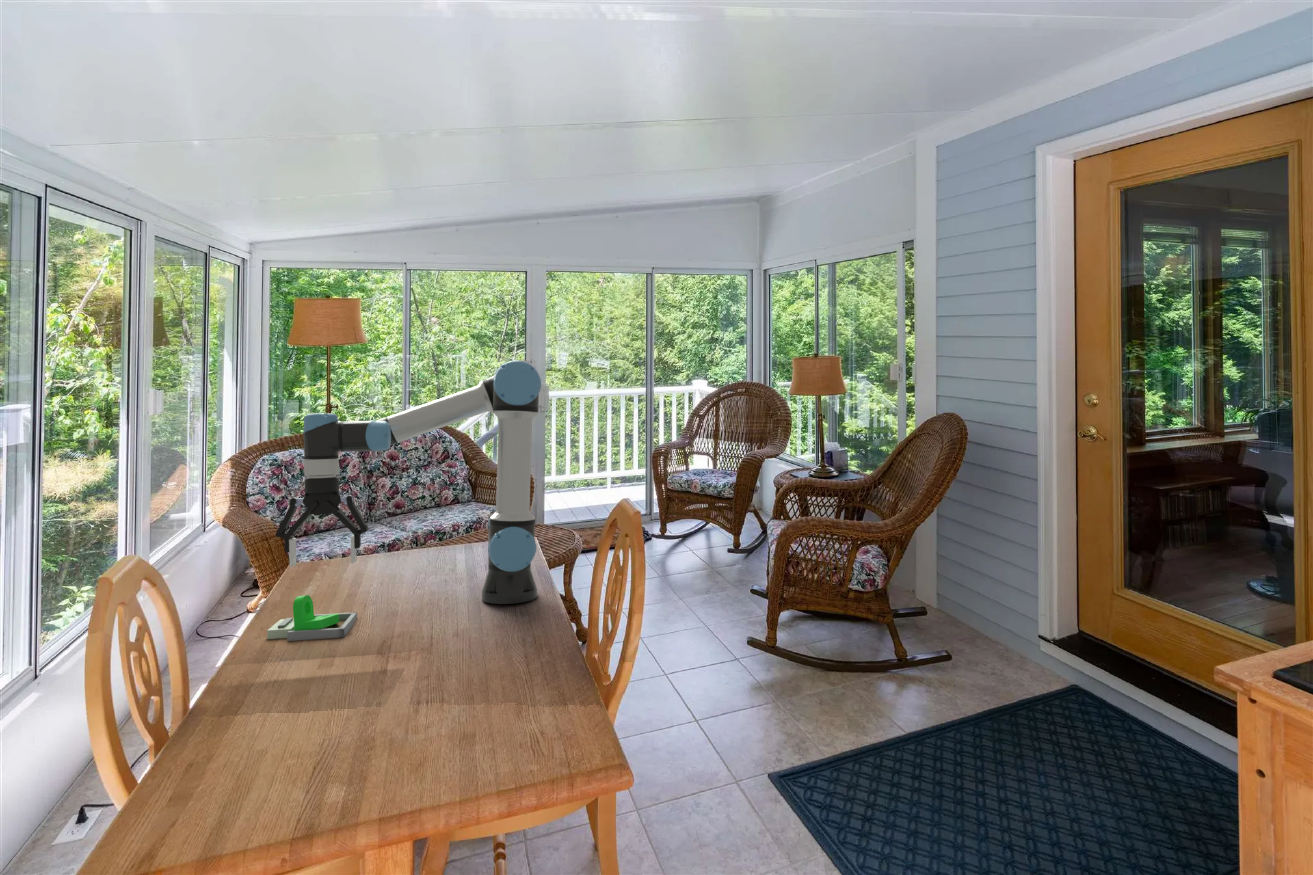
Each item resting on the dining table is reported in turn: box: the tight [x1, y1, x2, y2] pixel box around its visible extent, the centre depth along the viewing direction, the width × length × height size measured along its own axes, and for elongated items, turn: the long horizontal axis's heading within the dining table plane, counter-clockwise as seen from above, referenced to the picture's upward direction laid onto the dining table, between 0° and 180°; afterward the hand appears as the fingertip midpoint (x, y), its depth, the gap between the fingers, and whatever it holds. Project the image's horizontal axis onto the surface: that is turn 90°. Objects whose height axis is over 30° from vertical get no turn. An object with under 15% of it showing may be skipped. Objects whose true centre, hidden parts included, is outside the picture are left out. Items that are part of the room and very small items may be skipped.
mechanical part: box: [292, 594, 340, 631], centre depth 162 cm, size 12×6×8 cm, turn 1°
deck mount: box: [266, 611, 358, 642], centre depth 161 cm, size 17×16×3 cm
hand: (323, 563), depth 162 cm, fingers open, 13 cm apart
